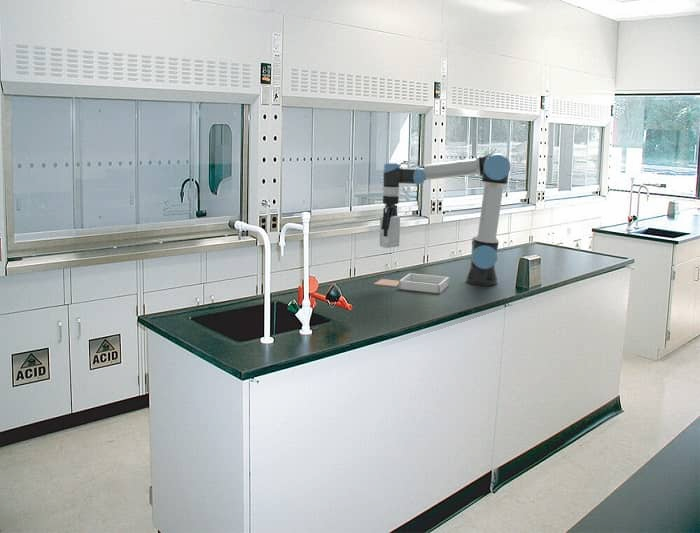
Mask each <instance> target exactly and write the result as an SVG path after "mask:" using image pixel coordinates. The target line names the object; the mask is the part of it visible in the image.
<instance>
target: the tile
mask: <svg viewBox="0 0 700 533" xmlns="http://www.w3.org/2000/svg"><path fill="white" fill-rule="evenodd" d="M373 285H374V286H381V287H390V288H391V287H392V288H397V287H399V280H396V279H386V278H385V279H384V278H381V279H379V280H378V281H376V282H375V283H373Z"/></svg>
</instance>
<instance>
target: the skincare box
mask: <svg viewBox="0 0 700 533" xmlns="http://www.w3.org/2000/svg"><path fill="white" fill-rule="evenodd" d="M382 221H383V216H380V217H379V247H381V248H385V249H390V248H398V247H400V235H401V232H400V230H401V226H400V225H401V216H399V215H397V216H392V217H391V218H390V224H389V229H388V230H389V243H383V229H381V228H382Z"/></svg>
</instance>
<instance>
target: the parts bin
mask: <svg viewBox="0 0 700 533" xmlns="http://www.w3.org/2000/svg"><path fill="white" fill-rule="evenodd" d="M398 281H399V285H398V290H405V291H407V290H408V291H415V292H424V293H434V294H441V293H442V292H443V291H444V290H445V289H446V288H448V287H449V286H450V277H449V276H443V275H442V276H440V275H432V274H430V275H429V274H422V273H414V272H413V273H410V272H409V273H408V274H407V275H405V276H404V277H402V278H401V279H399V280H398Z"/></svg>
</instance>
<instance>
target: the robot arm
mask: <svg viewBox="0 0 700 533" xmlns="http://www.w3.org/2000/svg"><path fill="white" fill-rule="evenodd" d="M400 165H401V164H400V163H399V162H386V163H384V165H383V180H382V182H383V184H382V185H383V186H382V190H383V191H382V192H383V194H382V195H383V196H382V203H383V204H384V205H385V207H384V208H383V210H382V211H383V212H382V213H383V214H382V217H383V221H382V228H381V229H383V243H389V230H388V229H389V224H390V218H391V217H392V216H398V205H397V204H399V200H400V199H399V198H400V197H399V195H400V184H411V185H412V184H413V185H420V184H421V185H423V184H424V183H425V181H427V180H428V181H430V180H437V179H446V178H447V179H448V178H456V177H464V176H465V177H467V176H475V175H478V176H479V177H482V179H481V182H482V184H483V185H484V187H483V195H482V200H481V201H482V203H481V209H480V216H479V223H478V231H477V236H473V237H472V240H471V256H470V268H469V270H468V273H467V275H466V279H465V280H466V283H468V284H470V285H475V286H483V287H484V286H485V287H486V286H488V287H489V286H495V285H498V277H497V273H496V269H495V264H496V263H497V261H498V248H499V243H500V241H499V240H498V238H497V232H498V226H499V219H500V213H501V205H502V199H503V193H504V192H503V191H504V187H505V186H506V185H507V184H508V180H509V174H510V171H511V162H510V159H509V158H508V157H507V156H506V155H504V154H503V153H501V152H492V153H488V154H484V155H478V156H477V157H476V158H469V159H462V160H455V161H445V162H437V163H436V162H435V163H428V164H427V163H426V164H421V165H420V164H418V165H411V166H410V167H403V166H402V167H401V166H400Z"/></svg>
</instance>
